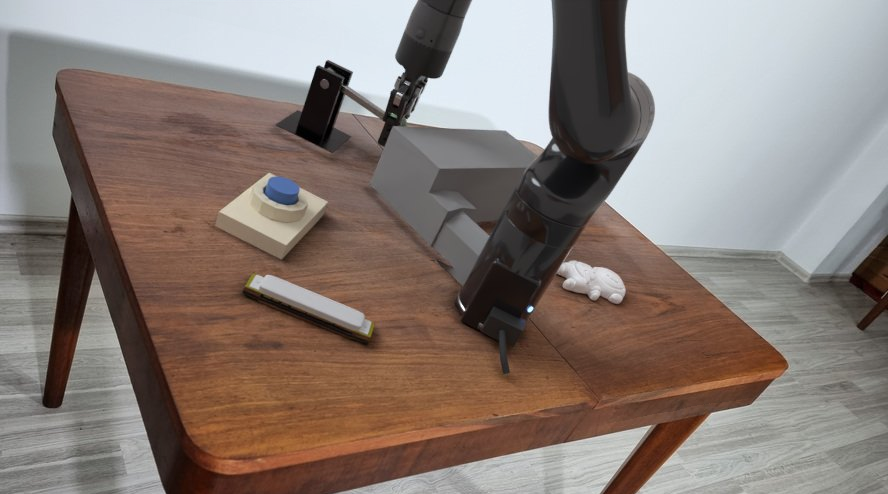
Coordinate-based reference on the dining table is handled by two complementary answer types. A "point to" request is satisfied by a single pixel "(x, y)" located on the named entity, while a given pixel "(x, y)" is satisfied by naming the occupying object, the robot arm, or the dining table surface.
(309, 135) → the lever bracket
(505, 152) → the gray stepped block
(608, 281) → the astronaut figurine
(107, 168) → the dining table surface
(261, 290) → the harmonica
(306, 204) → the switch box
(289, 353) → the dining table surface
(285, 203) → the blue button
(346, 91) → the green lever
